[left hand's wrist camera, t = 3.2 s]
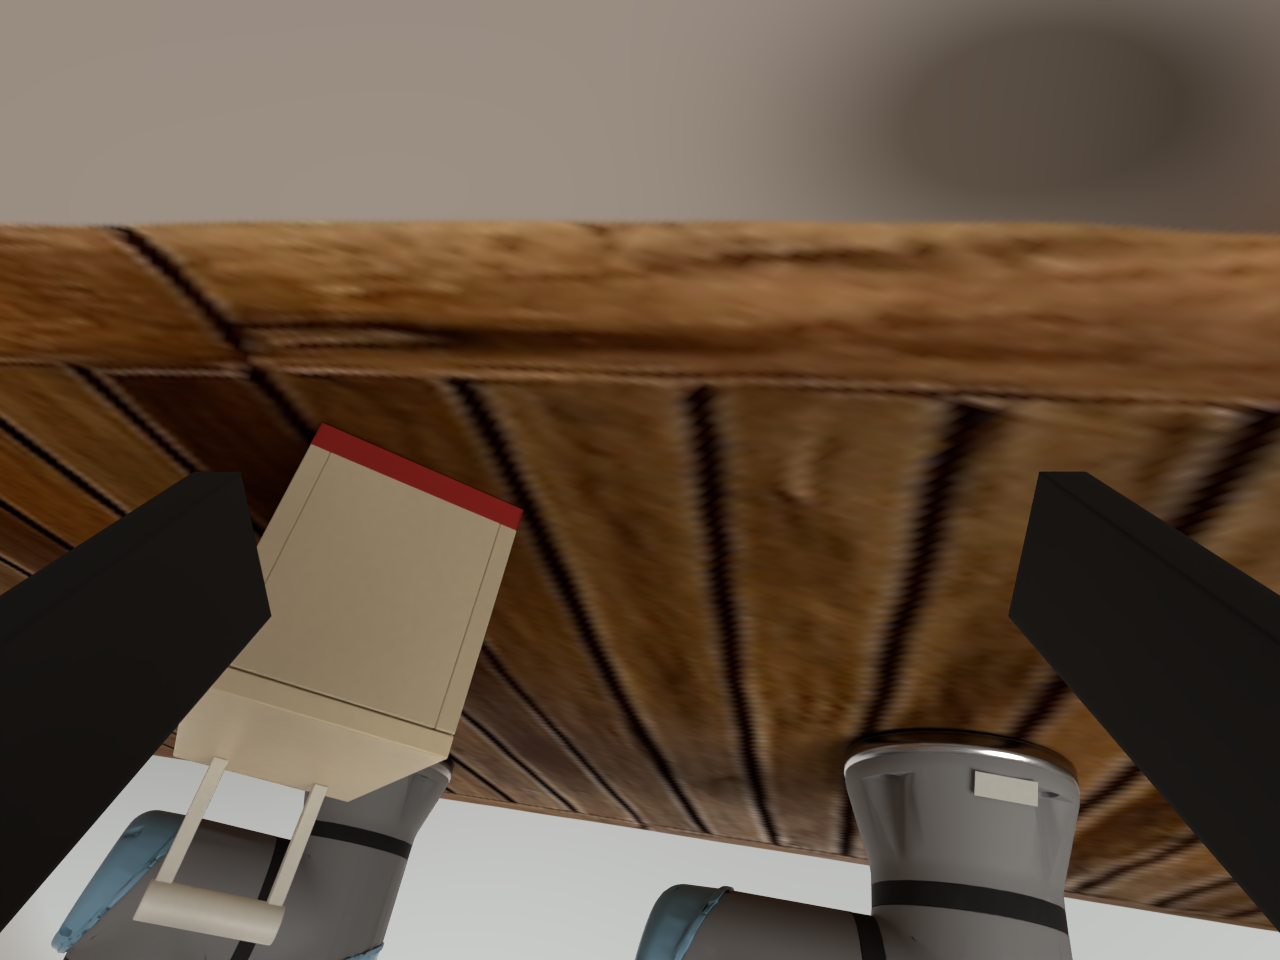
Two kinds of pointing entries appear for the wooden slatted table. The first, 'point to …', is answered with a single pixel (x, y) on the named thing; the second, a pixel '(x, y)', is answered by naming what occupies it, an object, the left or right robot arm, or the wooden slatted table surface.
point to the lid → (284, 754)
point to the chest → (379, 582)
